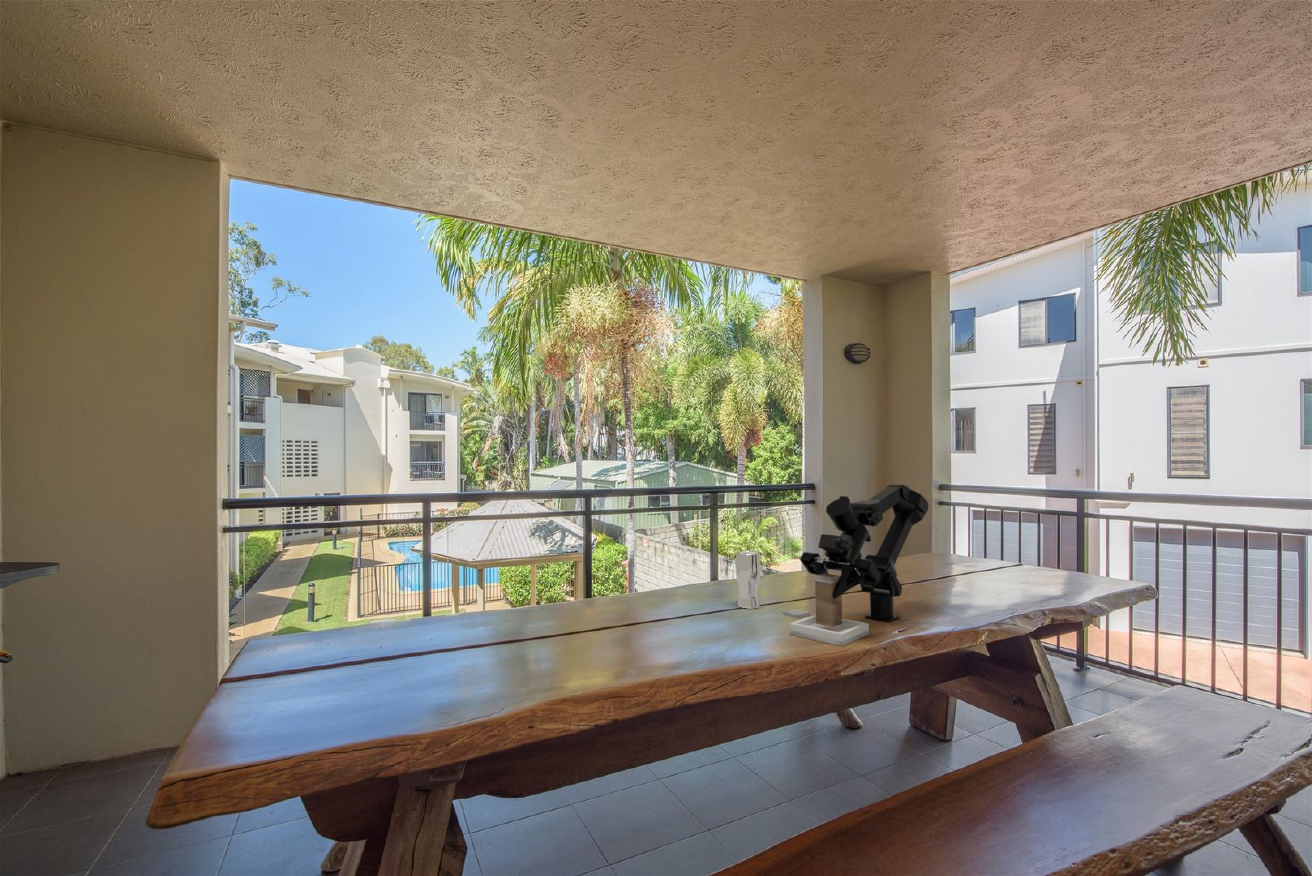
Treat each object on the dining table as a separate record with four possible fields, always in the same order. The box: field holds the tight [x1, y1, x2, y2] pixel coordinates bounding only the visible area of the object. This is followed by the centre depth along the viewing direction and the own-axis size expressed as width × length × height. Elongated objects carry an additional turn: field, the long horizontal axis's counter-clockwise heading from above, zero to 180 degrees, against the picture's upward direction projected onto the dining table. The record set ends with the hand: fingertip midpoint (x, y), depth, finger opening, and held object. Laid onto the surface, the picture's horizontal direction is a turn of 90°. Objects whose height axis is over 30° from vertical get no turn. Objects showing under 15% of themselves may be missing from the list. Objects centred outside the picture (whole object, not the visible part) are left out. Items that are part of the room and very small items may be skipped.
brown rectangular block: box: [814, 573, 843, 627], centre depth 133 cm, size 4×4×11 cm
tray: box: [788, 614, 870, 647], centre depth 133 cm, size 13×13×2 cm
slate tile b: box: [782, 608, 811, 619], centre depth 151 cm, size 5×5×1 cm
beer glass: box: [735, 550, 762, 610], centre depth 161 cm, size 7×7×15 cm
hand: (825, 595), depth 132 cm, fingers closed on brown rectangular block, 4 cm apart
